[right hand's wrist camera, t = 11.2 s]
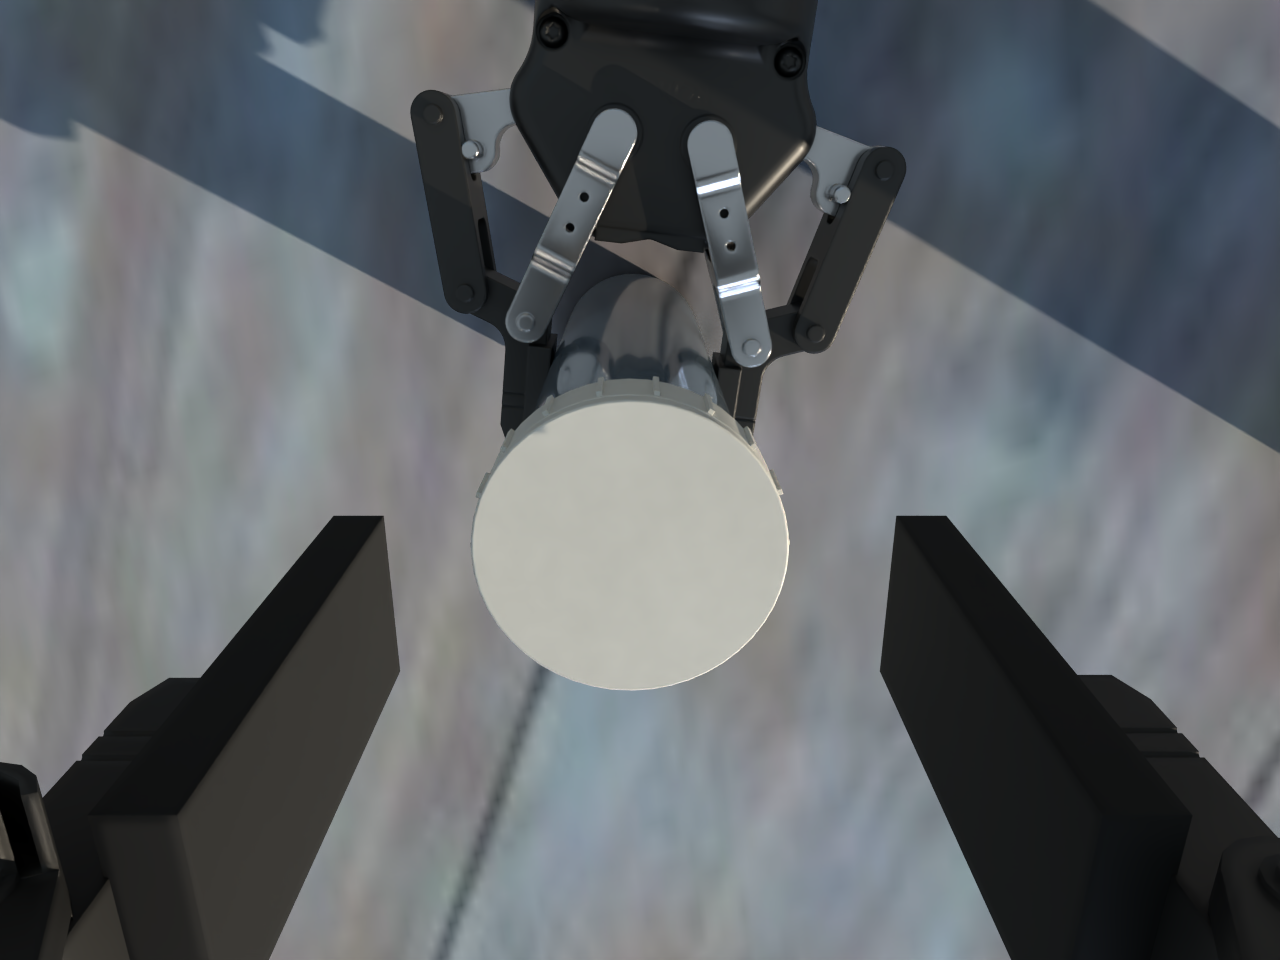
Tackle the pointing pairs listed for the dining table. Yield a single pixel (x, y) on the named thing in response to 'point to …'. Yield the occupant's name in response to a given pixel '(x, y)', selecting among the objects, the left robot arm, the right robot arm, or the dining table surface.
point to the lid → (629, 535)
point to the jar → (632, 340)
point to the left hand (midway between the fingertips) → (623, 461)
